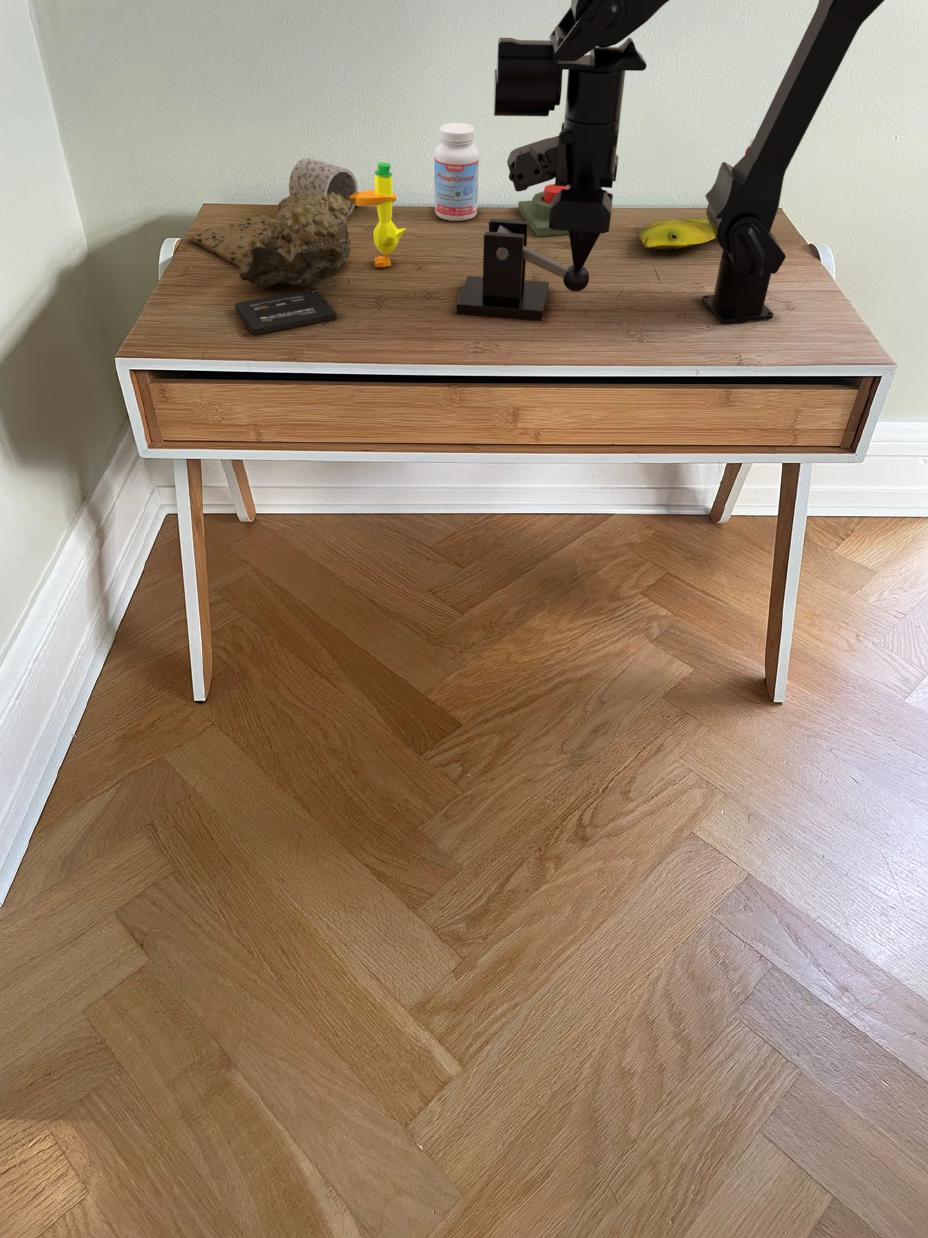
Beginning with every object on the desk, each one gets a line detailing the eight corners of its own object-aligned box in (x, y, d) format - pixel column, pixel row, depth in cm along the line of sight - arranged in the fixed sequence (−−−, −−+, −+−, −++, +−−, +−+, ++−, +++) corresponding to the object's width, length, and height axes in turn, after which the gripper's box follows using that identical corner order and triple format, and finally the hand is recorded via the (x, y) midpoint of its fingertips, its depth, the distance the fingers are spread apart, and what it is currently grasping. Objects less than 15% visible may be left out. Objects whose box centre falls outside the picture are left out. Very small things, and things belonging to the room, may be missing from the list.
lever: (582, 289, 111) (594, 266, 109) (580, 300, 109) (593, 277, 107) (491, 244, 110) (501, 221, 107) (487, 255, 107) (498, 231, 105)
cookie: (318, 243, 125) (317, 235, 124) (241, 268, 119) (240, 261, 118) (266, 217, 131) (265, 209, 130) (189, 240, 125) (188, 232, 124)
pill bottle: (434, 222, 130) (433, 134, 123) (435, 205, 135) (434, 120, 127) (477, 222, 130) (479, 135, 123) (477, 206, 135) (479, 120, 127)
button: (573, 205, 129) (574, 191, 127) (547, 207, 128) (548, 193, 127) (565, 195, 131) (566, 182, 130) (540, 197, 131) (541, 184, 129)
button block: (593, 232, 128) (596, 209, 126) (537, 236, 127) (538, 213, 125) (571, 205, 136) (573, 183, 133) (518, 209, 134) (519, 187, 132)
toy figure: (356, 271, 118) (349, 170, 110) (353, 260, 120) (346, 160, 112) (409, 267, 119) (406, 167, 111) (405, 256, 121) (402, 157, 113)
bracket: (548, 291, 115) (553, 217, 109) (541, 320, 109) (547, 244, 103) (467, 284, 116) (468, 211, 110) (456, 313, 110) (456, 237, 104)
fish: (623, 231, 121) (698, 241, 117) (666, 203, 132) (736, 211, 128) (621, 254, 123) (695, 264, 119) (664, 224, 134) (733, 232, 130)
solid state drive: (253, 329, 105) (253, 335, 105) (337, 312, 108) (337, 318, 109) (233, 302, 109) (234, 308, 110) (315, 288, 113) (315, 293, 113)
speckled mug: (284, 203, 130) (319, 215, 127) (294, 152, 128) (330, 162, 125) (331, 217, 138) (365, 228, 135) (342, 169, 136) (377, 179, 133)
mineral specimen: (270, 221, 122) (256, 148, 113) (368, 231, 121) (361, 159, 112) (239, 297, 114) (221, 225, 106) (343, 309, 113) (333, 238, 105)
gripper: (525, 87, 105) (518, 229, 116) (503, 139, 91) (497, 294, 102) (625, 93, 104) (609, 235, 114) (618, 146, 90) (600, 302, 101)
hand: (578, 265), depth 108 cm, fingers closed, pressing on lever
